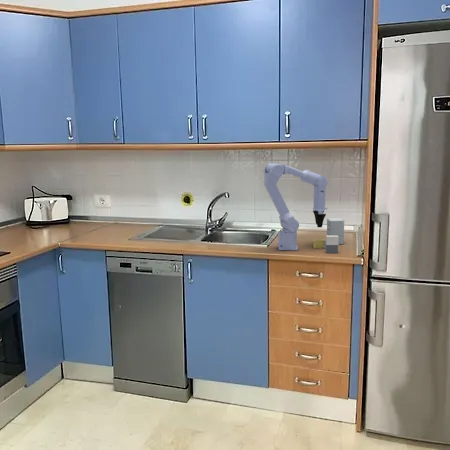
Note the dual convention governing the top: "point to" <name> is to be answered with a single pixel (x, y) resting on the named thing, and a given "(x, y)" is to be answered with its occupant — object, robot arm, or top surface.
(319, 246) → the mustard brick
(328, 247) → the charcoal brick
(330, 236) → the light grey brick
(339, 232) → the supplement box
